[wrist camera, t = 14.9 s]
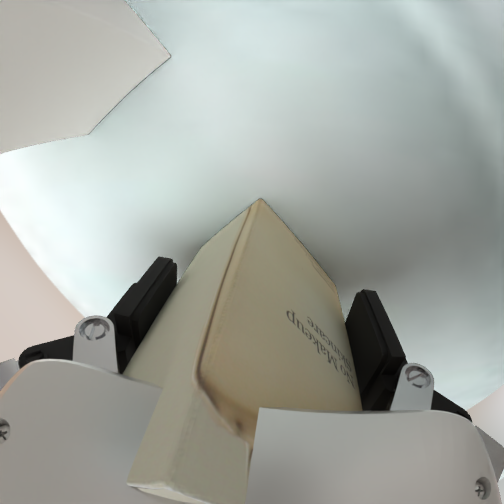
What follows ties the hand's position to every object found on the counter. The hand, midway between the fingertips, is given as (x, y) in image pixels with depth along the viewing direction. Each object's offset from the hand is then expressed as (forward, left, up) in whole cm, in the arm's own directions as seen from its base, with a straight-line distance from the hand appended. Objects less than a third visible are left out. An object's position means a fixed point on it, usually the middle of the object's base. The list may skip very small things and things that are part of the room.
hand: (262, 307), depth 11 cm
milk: (+10, -10, -4) cm, 15 cm away
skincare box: (0, 0, -4) cm, 4 cm away
